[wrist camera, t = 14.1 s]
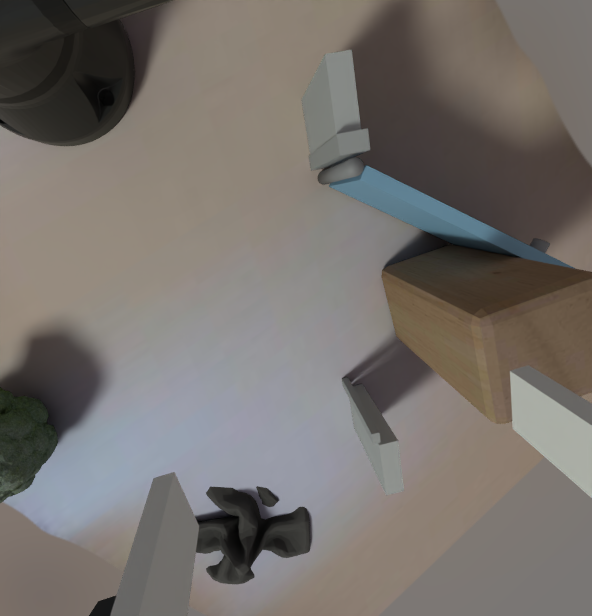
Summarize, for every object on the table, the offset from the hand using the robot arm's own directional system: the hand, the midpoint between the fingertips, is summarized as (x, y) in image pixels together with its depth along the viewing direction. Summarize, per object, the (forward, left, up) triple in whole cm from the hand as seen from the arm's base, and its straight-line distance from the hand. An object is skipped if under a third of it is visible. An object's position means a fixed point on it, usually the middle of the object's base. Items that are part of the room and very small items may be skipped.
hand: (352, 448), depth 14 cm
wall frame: (+2, +7, -30) cm, 31 cm away
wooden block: (+5, +17, -31) cm, 36 cm away
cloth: (+34, -13, -31) cm, 48 cm away
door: (-4, +18, -30) cm, 35 cm away
